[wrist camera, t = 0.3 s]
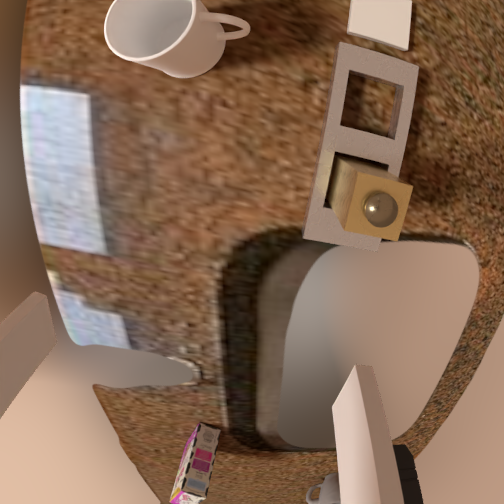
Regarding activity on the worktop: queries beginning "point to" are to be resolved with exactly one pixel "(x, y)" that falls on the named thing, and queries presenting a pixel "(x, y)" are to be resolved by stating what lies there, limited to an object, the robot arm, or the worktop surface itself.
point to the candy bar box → (196, 466)
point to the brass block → (368, 198)
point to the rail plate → (358, 137)
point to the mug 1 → (169, 34)
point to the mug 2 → (326, 491)
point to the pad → (381, 21)
